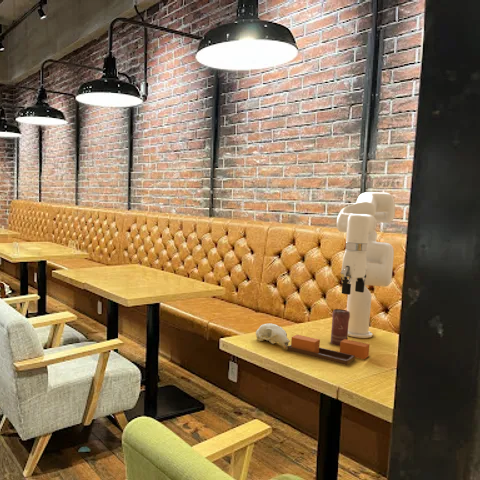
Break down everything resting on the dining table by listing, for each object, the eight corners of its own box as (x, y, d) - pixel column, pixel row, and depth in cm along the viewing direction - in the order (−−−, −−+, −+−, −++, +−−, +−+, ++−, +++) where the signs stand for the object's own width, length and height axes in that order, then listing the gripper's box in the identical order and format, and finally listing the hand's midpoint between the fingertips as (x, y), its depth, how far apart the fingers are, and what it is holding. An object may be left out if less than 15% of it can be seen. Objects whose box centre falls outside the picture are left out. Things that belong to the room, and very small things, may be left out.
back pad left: (296, 347, 187) (297, 334, 187) (319, 352, 181) (319, 339, 181) (290, 349, 183) (291, 337, 183) (313, 355, 178) (314, 342, 177)
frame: (296, 347, 189) (296, 342, 189) (354, 361, 175) (354, 355, 175) (287, 351, 182) (287, 346, 182) (346, 366, 168) (347, 361, 168)
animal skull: (273, 352, 180) (270, 325, 182) (253, 349, 196) (250, 324, 197) (297, 349, 183) (294, 322, 185) (275, 346, 199) (273, 321, 200)
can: (348, 347, 190) (351, 312, 189) (331, 346, 192) (334, 311, 190) (346, 343, 196) (348, 309, 195) (329, 341, 198) (332, 308, 196)
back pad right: (343, 351, 185) (344, 338, 185) (368, 357, 180) (369, 344, 179) (339, 354, 182) (340, 341, 181) (364, 360, 176) (365, 347, 176)
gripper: (358, 246, 189) (355, 289, 191) (334, 247, 178) (331, 293, 180) (377, 248, 184) (373, 292, 185) (353, 249, 173) (350, 296, 174)
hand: (352, 292), depth 182 cm, fingers open, 9 cm apart
